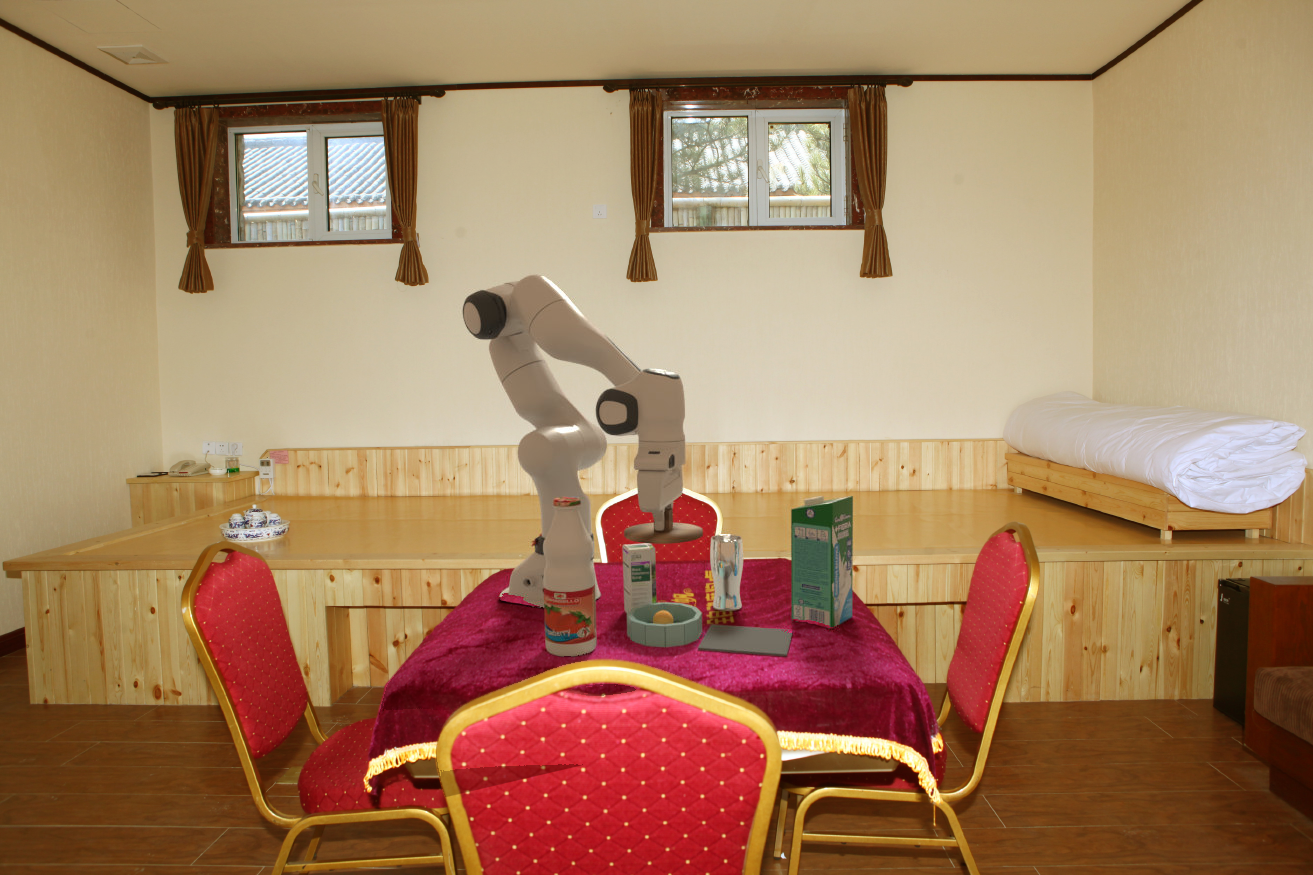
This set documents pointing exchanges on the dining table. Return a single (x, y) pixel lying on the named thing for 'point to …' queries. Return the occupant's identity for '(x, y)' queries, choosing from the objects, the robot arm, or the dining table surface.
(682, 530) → the lid
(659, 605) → the bowl
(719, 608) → the chrome tumbler
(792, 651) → the dining table surface
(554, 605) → the fruit juice
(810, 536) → the milk carton
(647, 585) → the syrup box
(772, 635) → the mat
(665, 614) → the tangerine
